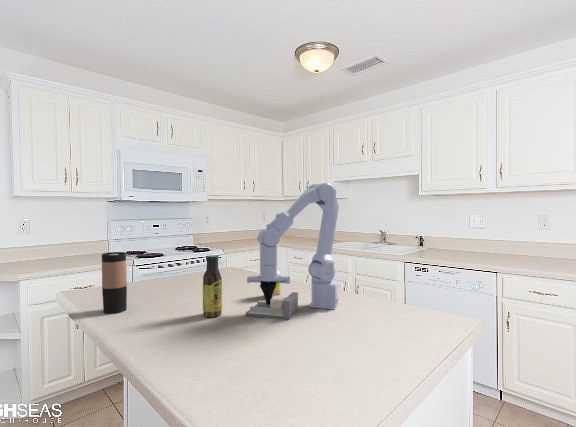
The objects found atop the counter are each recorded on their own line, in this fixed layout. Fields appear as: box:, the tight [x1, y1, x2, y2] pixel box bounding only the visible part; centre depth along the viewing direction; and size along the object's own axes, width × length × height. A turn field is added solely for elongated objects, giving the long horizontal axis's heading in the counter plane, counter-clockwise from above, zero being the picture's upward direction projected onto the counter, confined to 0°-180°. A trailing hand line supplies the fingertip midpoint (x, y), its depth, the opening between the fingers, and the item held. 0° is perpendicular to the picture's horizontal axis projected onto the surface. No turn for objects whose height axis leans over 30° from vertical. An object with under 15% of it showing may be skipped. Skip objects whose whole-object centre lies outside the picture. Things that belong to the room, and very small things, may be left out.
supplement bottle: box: [263, 264, 281, 298], centre depth 135 cm, size 7×7×13 cm
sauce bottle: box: [202, 254, 223, 318], centre depth 114 cm, size 6×6×20 cm
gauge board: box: [245, 291, 299, 321], centre depth 116 cm, size 15×11×6 cm
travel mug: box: [101, 251, 128, 315], centre depth 119 cm, size 8×8×20 cm
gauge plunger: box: [270, 295, 287, 309], centre depth 114 cm, size 4×8×4 cm, turn 164°
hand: (268, 303), depth 116 cm, fingers closed
